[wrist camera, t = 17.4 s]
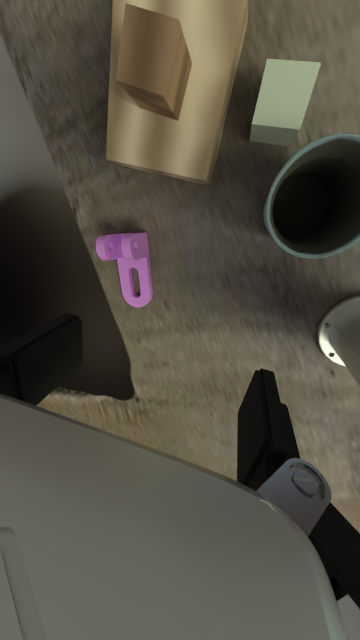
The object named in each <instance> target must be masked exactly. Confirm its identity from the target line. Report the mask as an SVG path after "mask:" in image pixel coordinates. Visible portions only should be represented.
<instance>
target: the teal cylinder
mask: <svg viewBox="0 0 360 640" xmlns="http://www.w3.org/2000/svg"><path fill="white" fill-rule="evenodd" d="M263 219H264V224H265V227H266V229H267V230H268V232H269V233H270V234H271V236H272V238H273V240H274V241H275V242H276V244H277V245H278V246H279V247H281V248H282V249H283V250H284V251H286V252H287V253H289V254H291V255H294V256H296V257H300V258H306V259H318V258H325V257H329V256H333V255H335V254H338V253H341V252H343V251H345V250H347V249H349V248H351V247H352V246H354V245H355V244H357V243H358V242H359V241H360V135H358V134H353V133H337V134H333V135H328V136H325V137H323V138H320V139H317V140H315V141H313V142H311V143H309V144H308V145H306V146H304V147H303V148H302V149H300V150H299V151H297V152H296V153H295V154H294V155H293V156H292V157H291V158H290V159H289V160H288V161H287V163H286V164H285V165H284V166H283V168H282V169H281V170H280V172H279V173H278V175H277V176H276V178H275V180H274V182H273V184H272V186H271V189H270V191H269V195H268V197H267V200H266V202H265V206H264V210H263Z"/></svg>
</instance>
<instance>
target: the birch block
mask: <svg viewBox="0 0 360 640" xmlns="http://www.w3.org/2000/svg"><path fill="white" fill-rule="evenodd" d="M248 2H249V0H113V8H112V31H111V54H110V77H109V100H108V123H107V146H106V160H108V161H111V162H113V163H115V164H117V165H120V166H122V167H126V168H131V169H136V170H140V171H145V172H150V173H154V174H159V175H163V176H168V177H173V178H177V179H182V180H187V181H191V182H196V183H201V184H205V185H211V180H212V176H213V172H214V167H215V163H216V159H217V154H218V150H219V146H220V141H221V137H222V133H223V128H224V124H225V119H226V115H227V111H228V106H229V102H230V98H231V93H232V89H233V85H234V80H235V76H236V72H237V67H238V63H239V59H240V54H241V50H242V46H243V41H244V37H245V33H246V28H247V24H248ZM126 3H127V4H130V5H133V6H137V7H140V8H143V9H147V10H150V11H153V12H157V13H160V14H163V15H166V16H170V17H173V18H176V19H179V21H180V24H181V28H182V31H183V34H184V38H185V41H186V44H187V48H188V51H189V54H190V58H191V61H192V67H191V71H190V75H189V79H188V83H187V87H186V91H185V95H184V99H183V104H182V108H181V112H180V116H179V120H178V121H177V120H174V119H171V118H168V117H165V116H163V115H160V114H157V113H154V112H151V111H148V110H145V109H142V108H140V107H139V106H138V105H137V104H136V103H135V102H134V100H133V99H132V98H131V97H130V96H129V95H128V94H127V93H126V91H125V90H124V89H123V88H122V87H121V86H120V85H119V83H118V82H117V81H116V73H117V65H118V57H119V50H120V42H121V34H122V27H123V19H124V12H125V4H126Z"/></svg>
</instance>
